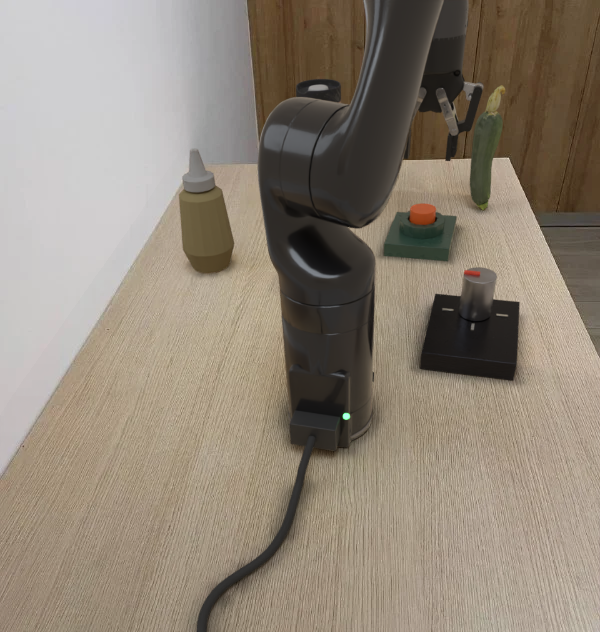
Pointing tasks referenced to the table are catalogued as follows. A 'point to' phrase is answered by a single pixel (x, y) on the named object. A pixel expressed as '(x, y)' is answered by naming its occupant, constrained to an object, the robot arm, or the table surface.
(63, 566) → the table surface
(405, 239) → the button housing
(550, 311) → the table surface
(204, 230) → the squeeze bottle
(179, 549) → the table surface
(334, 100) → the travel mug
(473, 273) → the cooker knob
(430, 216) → the button
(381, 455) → the table surface
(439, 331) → the panel
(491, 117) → the vegetable
